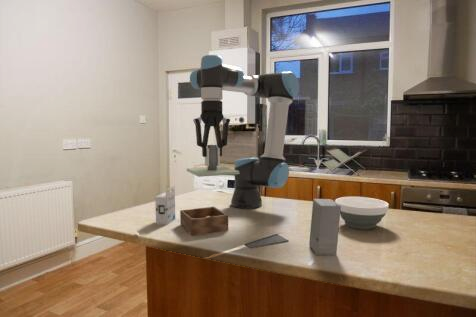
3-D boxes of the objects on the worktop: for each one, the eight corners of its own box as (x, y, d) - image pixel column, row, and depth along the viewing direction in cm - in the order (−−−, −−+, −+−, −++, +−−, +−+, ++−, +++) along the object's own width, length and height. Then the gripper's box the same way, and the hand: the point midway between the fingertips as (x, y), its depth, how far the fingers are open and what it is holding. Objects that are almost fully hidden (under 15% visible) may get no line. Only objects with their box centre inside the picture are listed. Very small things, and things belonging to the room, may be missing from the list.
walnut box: (214, 222, 135) (214, 206, 134) (228, 232, 122) (228, 215, 122) (180, 226, 129) (180, 210, 128) (191, 237, 116) (191, 219, 116)
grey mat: (265, 228, 126) (265, 227, 126) (288, 241, 113) (288, 240, 113) (229, 234, 120) (229, 233, 120) (249, 248, 107) (249, 247, 106)
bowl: (332, 230, 125) (333, 205, 124) (336, 216, 143) (336, 195, 142) (389, 236, 118) (390, 210, 117) (385, 221, 136) (386, 198, 135)
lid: (223, 168, 132) (223, 143, 131) (239, 174, 118) (239, 145, 117) (186, 170, 125) (186, 144, 124) (198, 176, 112) (198, 147, 111)
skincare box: (308, 245, 109) (309, 198, 107) (329, 245, 110) (331, 197, 108) (317, 256, 101) (318, 204, 99) (339, 255, 101) (341, 204, 100)
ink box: (164, 220, 138) (163, 184, 137) (175, 220, 137) (175, 185, 136) (155, 226, 130) (154, 188, 128) (167, 227, 129) (166, 189, 127)
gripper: (229, 101, 126) (229, 163, 128) (186, 100, 119) (187, 165, 122) (237, 100, 119) (237, 165, 121) (192, 99, 112) (193, 168, 115)
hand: (212, 165), depth 121 cm, fingers closed on lid, 3 cm apart
